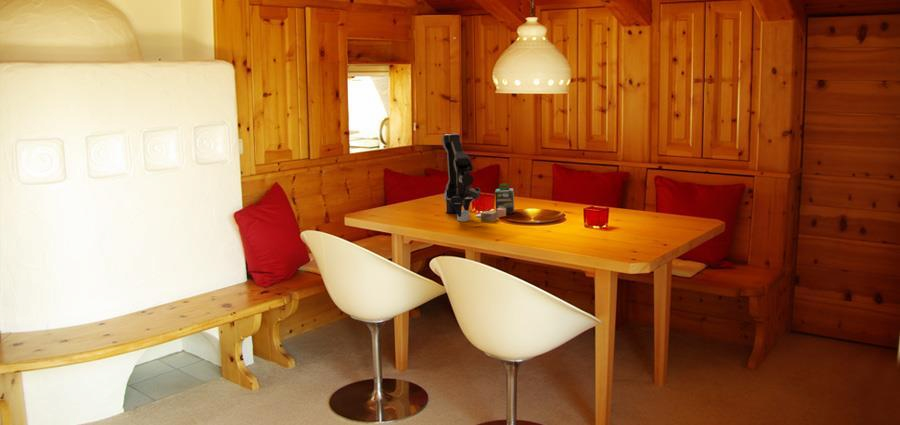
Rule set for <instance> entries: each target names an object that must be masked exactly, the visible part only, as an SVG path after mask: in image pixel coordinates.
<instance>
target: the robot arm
mask: <svg viewBox="0 0 900 425" xmlns="http://www.w3.org/2000/svg"><path fill="white" fill-rule="evenodd" d="M441 144H442V146H443V149H444V150H445V151H446V152H445V153H446V158H447V159H446V160H447V161H446V162H447V173H448V174H447V175H448V181H447V184H446V185H445V189H444V193H443V200H444V201H445V202H446V211H445V214H456V215H457V214H458V216H459V217H461V213H462V210H469V211H470V206H471V203H472V202H473V201H474V200H477V199H479V198H480V195H482V191H481V188H480V187H475V188H473V187H471V185H473V183H474V177H473V175H472V174H470V172H473V169H474V167H473V163H472V160H471V159H470V158H469V155H468V154H467V153H466V152H465V151H464V149H463V145H462V142H461V135H460V134H458V133H449V134H448V133H446V134H443V136H441Z"/></svg>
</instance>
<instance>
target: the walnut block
mask: <svg viewBox="0 0 900 425" xmlns="http://www.w3.org/2000/svg"><path fill="white" fill-rule="evenodd" d="M480 214H481V217H480V222H490V223H492V222H495V221H497V220H498V217H497V212H496V211H490V210H485V211H482V212H480Z"/></svg>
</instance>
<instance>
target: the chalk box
mask: <svg viewBox="0 0 900 425" xmlns="http://www.w3.org/2000/svg"><path fill="white" fill-rule="evenodd" d="M504 186H505V187H504ZM514 191H515V190H514V188H513V187H511V188H510V183H500V184H499V188H496V189H495V191H494V196H495V197H494V199H495V202H494V203H495V212H497V209H498V208H506V213H513V212H514V213H515V192H514Z"/></svg>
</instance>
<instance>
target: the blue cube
mask: <svg viewBox="0 0 900 425" xmlns="http://www.w3.org/2000/svg"><path fill="white" fill-rule="evenodd" d="M456 217H457V218H456V219H457V221H458V222H467V221H469V220H470V209H469V210H464V209H462V213H461V217H459V216H458V214H456Z"/></svg>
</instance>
